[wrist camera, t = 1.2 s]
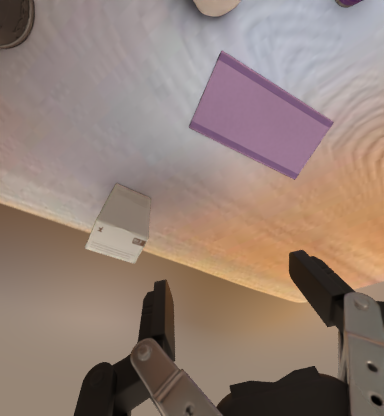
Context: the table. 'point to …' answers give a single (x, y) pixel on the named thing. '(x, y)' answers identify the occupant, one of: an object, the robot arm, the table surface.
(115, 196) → the cosmetic box
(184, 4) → the table surface
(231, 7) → the water bottle
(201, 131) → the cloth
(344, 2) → the container
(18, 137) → the table surface
